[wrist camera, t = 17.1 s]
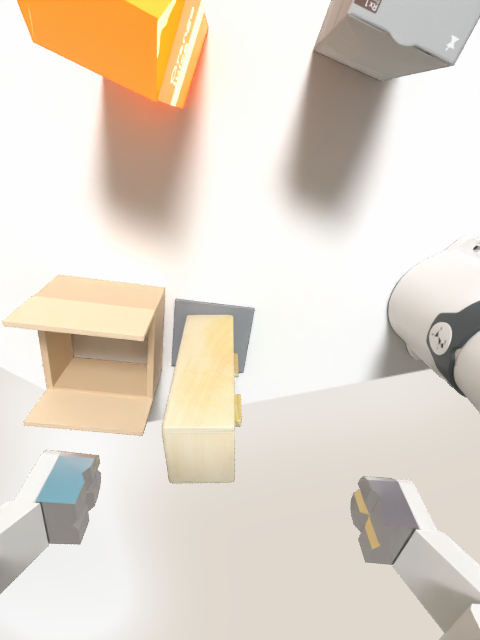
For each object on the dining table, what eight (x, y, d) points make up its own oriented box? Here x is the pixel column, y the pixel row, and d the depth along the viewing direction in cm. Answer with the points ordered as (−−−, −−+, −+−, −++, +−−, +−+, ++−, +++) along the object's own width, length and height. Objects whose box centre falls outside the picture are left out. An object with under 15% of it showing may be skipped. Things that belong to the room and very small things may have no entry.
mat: (254, 308, 50) (254, 309, 49) (243, 370, 55) (243, 372, 55) (175, 298, 49) (175, 300, 49) (171, 363, 54) (171, 365, 54)
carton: (165, 286, 48) (143, 336, 37) (161, 371, 55) (142, 435, 44) (58, 273, 47) (2, 321, 36) (68, 361, 54) (24, 425, 42)
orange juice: (121, -23, 33) (-7, -190, 15) (209, 26, 35) (184, -73, 17) (101, 70, 36) (-22, 20, 19) (183, 110, 38) (139, 99, 21)
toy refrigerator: (239, 360, 54) (241, 484, 35) (190, 360, 53) (166, 484, 35) (239, 314, 50) (242, 425, 31) (186, 313, 50) (158, 425, 31)
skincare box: (415, 9, 34) (536, -68, 21) (376, 91, 38) (459, 72, 24) (337, -32, 33) (412, -146, 19) (304, 57, 36) (348, 15, 22)
